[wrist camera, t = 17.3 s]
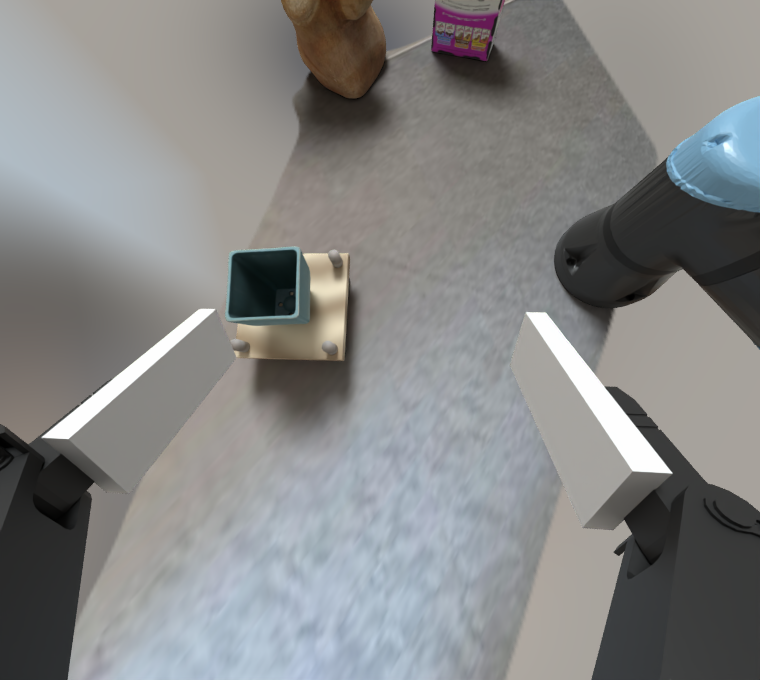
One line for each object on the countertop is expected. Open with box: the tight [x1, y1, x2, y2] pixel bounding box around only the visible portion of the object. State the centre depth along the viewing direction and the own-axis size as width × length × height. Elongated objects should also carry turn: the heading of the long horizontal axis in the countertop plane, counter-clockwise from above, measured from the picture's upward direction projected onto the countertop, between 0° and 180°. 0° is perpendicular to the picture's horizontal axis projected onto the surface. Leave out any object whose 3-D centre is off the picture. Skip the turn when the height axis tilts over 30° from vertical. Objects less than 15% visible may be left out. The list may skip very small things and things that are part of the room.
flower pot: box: [225, 246, 311, 326], centre depth 37 cm, size 9×9×9 cm
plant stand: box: [230, 250, 350, 361], centre depth 43 cm, size 16×16×8 cm
